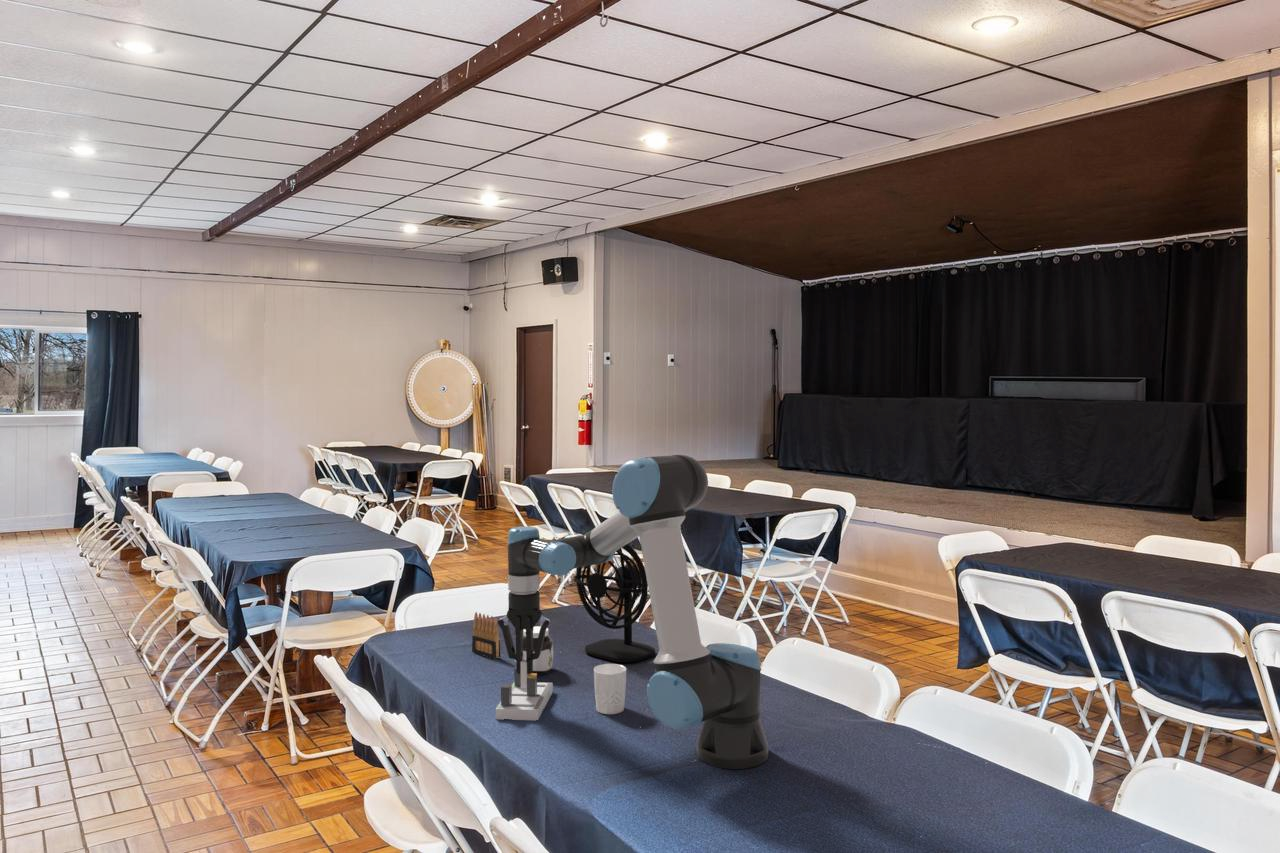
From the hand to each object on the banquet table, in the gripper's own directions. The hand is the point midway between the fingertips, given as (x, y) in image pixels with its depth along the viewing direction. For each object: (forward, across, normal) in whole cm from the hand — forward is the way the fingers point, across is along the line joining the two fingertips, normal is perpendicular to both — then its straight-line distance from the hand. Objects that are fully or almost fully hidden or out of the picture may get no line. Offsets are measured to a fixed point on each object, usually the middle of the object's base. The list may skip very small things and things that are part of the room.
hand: (524, 686), depth 220 cm
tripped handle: (+2, -2, 0) cm, 3 cm away
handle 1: (+2, +3, +7) cm, 8 cm away
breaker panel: (+5, 0, 0) cm, 5 cm away
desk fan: (+5, -18, -43) cm, 47 cm away
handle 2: (+2, +3, -7) cm, 8 cm away
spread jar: (+5, +4, -27) cm, 28 cm away
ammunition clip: (+5, +20, -39) cm, 44 cm away
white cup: (+5, -21, +1) cm, 22 cm away
